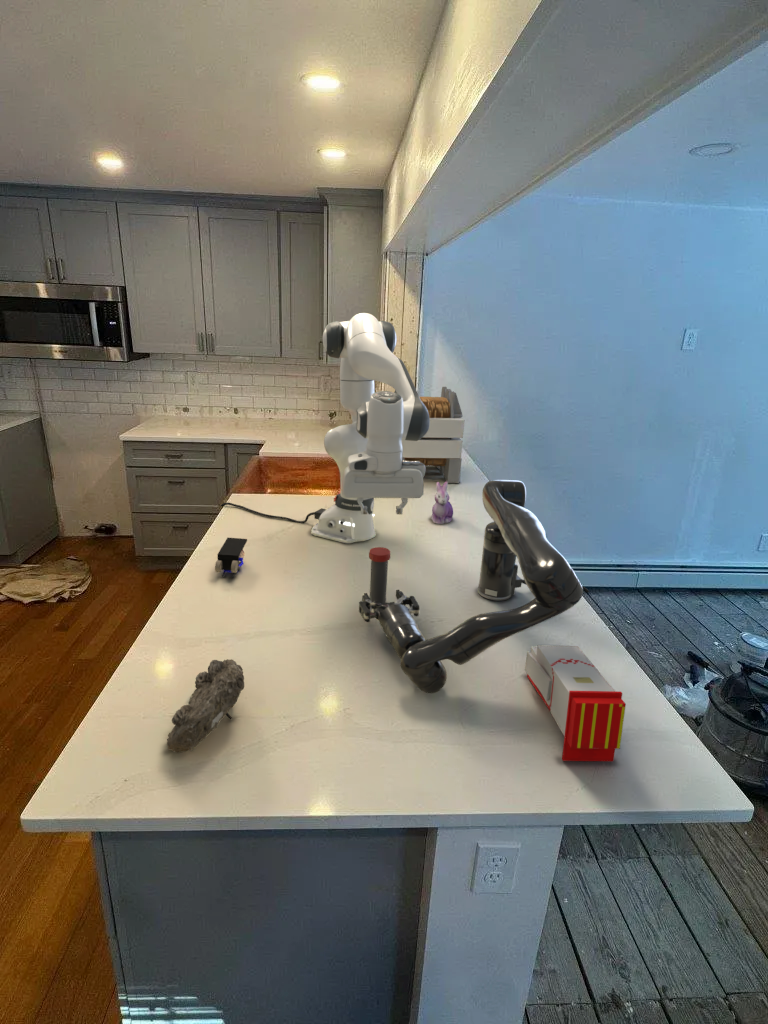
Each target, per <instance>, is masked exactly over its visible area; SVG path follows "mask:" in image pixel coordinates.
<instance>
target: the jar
mask: <svg viewBox="0 0 768 1024" xmlns="http://www.w3.org/2000/svg"><path fill="white" fill-rule="evenodd" d="M388 565H389V560H388V561H386V562H375V561H372V560H371V559H370V579H369V580H370V581H369V598H370V600H372V601H379V602H381V603H387V587H388V569H389V567H388ZM370 607H372V605H370ZM378 607H379V606H377V608H378Z"/></svg>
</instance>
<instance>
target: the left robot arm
mask: <svg viewBox="0 0 768 1024" xmlns="http://www.w3.org/2000/svg"><path fill="white" fill-rule="evenodd" d="M397 338H398V337H397V332H396V330H395V326H394V325H393V323H392V322H389V321H385V320H380V321H379V319H378V318H376V316H374V315H373V314H371V313H368V312H360V313H356V314H355V315H353V316H352V317H351V318H350V319H349V320H347V321H346V320H345V321H344V320H343V321H338V320H337V321H332V322H329V323H328V324H327V325H326V326H325V327H324V331H323V333H322V345H323V348H324V350H325V353H326V354H327V356H328V357H330V358H334V359H340V363H339V394H340V395H339V397H340V398H339V400H340V401H339V402H340V405H341V407H342V408H343V409H344V410H346V411H348V413H349V414H350V417H351V421H352V423H347V424H341V425H338V426H336V427H333V428H331V429H329V430H328V431H327V432H326V433H325V436H324V438H323V447H324V449H325V452H326V454H327V455H328V456H329V457H330V458H332V460H334V462H335V463H336V465H337V468H338V471H339V479H340V480H339V481H340V484H339V485H340V488H339V489H340V490H339V491H338V492H337V494H336V495H335V496H334V497H333V502H334V504H333V505H331V506H329V507H328V508H319V509H318V510H316V511H313V512H310V513H308V514H307V515H306V516H305V519H304V520H296V519H293V518H290V517H286V516H279V515H273V514H272V515H271V514H266V513H263V512H259V511H257V510H254V509H251V508H248V507H246V506H243V505H240V504H236V503H232V502H223V503H222V504H220V507H225V506H231V507H235V508H239V509H242V510H245V511H247V512H249V513H253V514H256V515H259V516H262V517H265V518H266V517H267V518H270V519H279V520H285V521H290V522H293V523H297V524H306V523H307V522H308V521H309V518H310V517H311V516H313V515H314V517H313V518H314V519H315V520H318V521H317V523H315V524H314V525H313V526H312V528H311V530H310V533H311V536H315V537H319V538H323V539H326V540H330V541H336V542H339V543H343V544H352V543H357V542H365V541H368V540H372V539H373V538H375V537H376V535H377V532H376V528H375V523H374V517H375V513H373V512H374V509H375V499H400V500H401V502H400V504H399V505H396V506H395V514H396V515H403V513H404V512H403V511H404V510H403V509H404V508H405V506H406V505H407V504H408V500H409V499H421V498H422V497H423V496H424V477H425V475H426V466H425V465H424V464H423V463H420V461H402V453H403V446H402V440H408V441H418V440H419V439H421V438H422V437H423V436H424V435H425V434H426V433H427V432H428V430H429V425H430V419H429V413H428V410H427V408H426V406H425V405H424V404H423V402H422V401H421V399H420V397H421V396H420V395H419V393H418V391H417V388H416V386H415V384H414V382H413V380H412V377H411V375H410V373H409V370H408V367H406V364H405V363H404V361H403V360H402V359H401V358H399V357H398V356H397V355H395V354H394V352H395V348H396V346H397V342H398V341H397ZM375 382H378V383H382V384H385V385H388V386H389V387H391V388H393V390H394V392H395V390H396V392H397V393H394V392H392V391H390V390H379V391H376V392H375ZM420 464H421V465H420Z"/></svg>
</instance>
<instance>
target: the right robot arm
mask: <svg viewBox="0 0 768 1024" xmlns="http://www.w3.org/2000/svg"><path fill="white" fill-rule="evenodd" d="M481 497H482V499H481V500H482V504H483V507H484V509H485V511H486V513H487V515H488V516H489V517H490V518H491V519H492V521H491V522H489V523H488V524H486V526H485V528H484V535H483V544H482V553H481V561H480V572H479V578H478V579H479V580H478V587H477V592H478V595H480V596H481V597H483V598H484V599H487V600H491V601H497V602H499V601H500V602H501V601H506V600H509V599H511V598H512V597H515V591H516V589H517V588H519V589H520V588H522V584H523V585H526V587H527V589H529V591H530V592H531V594H532V595H533V597H534V598H533V599H531V600H530V601H529V602H527V603H526V604H523V605H521V606H519V607H516V608H512V609H507V610H500V611H499V610H498V611H490V612H489V611H488V612H483V613H479V614H476V615H473V616H471V617H469V618H467V619H466V620H464V621H462V623H460V624H458V625H457V626H455V627H453V628H452V629H450V630H449V631H448V632H446V633H443V634H439V635H436V636H433V637H431V638H427V639H426V637H425V636H424V635H423V633H422V631H421V630H420V627H419V625H418V622H417V620H416V619H415V618H414V617H419V615H420V605H419V603H418V601H417V599H416V597H415V596H414V595H409V596H407V595H405V593H404V592H403V591H402V590H400V589H396V590H395V598H396V601H391V602H386V603H381V602H379V601H372V600H370V595H369V594H368V593H367V592H364V593H363V594H362V596H361V601H359V602H358V612H359V614H360V616H361V617H362V619H363V621H364V622H365V623H369V622H370V621H371V619H376V620H377V621H378V622H379V624H380V627H381V629H382V630H383V632H384V634H385V637H386V638H387V640H388V642H389V643H390V644H391V646H392V648H393V650H394V651H395V653H396V655H397V656H398V658H399V659H400V668H401V670H402V672H403V673H404V674H405V675H406V676H407V678H409V680H410V681H411V682H412V683H413V684H414V685H415V687H416V688H418V690H420V691H421V692H423V693H425V694H436V693H438V692H439V691H441V690H442V689H443V688H444V687H445V685H446V683H447V678H448V675H447V674H448V673H447V668H446V667H445V665H444V663H443V662H442V661H444V660H449V661H451V662H453V663H454V664H455V665H459V666H461V665H465V664H467V663H468V662H470V661H471V660H472V659H475V658H476V657H477V656H479V655H481V654H483V653H484V652H485V651H487V650H488V649H489V648H491V647H493V646H494V645H497V644H498V643H500V642H502V641H503V640H505V639H508V638H510V637H512V636H514V635H517V634H519V633H521V632H523V631H525V630H528V629H530V628H533V627H534V626H537V625H539V624H542V623H543V622H546V621H548V620H550V619H553V618H555V617H556V616H559V615H561V614H563V613H565V612H567V611H568V610H570V609H572V608H573V607H574V606H576V605H577V604H578V603H579V602H580V600H581V599H582V597H583V594H584V592H585V593H590V590H589V589H588V588H587V587H586V586H583V584H582V582H581V581H580V579H579V577H578V576H577V574H576V573H575V570H574V569H573V568H572V566H571V565H570V563H569V561H568V560H567V558H565V557H564V555H563V554H562V553H561V552H559V550H557V549H556V547H555V546H554V545H552V544H551V542H550V541H549V540H548V534H547V531H546V529H545V527H544V525H543V524H542V522H541V521H540V520H539V518H538V516H536V514H534V513H533V511H531V510H529V509H527V508H525V507H526V502H527V488H526V485H525V483H524V482H523V481H521V480H515V479H514V480H513V479H512V480H511V479H510V480H509V479H493V480H489V481H487V482H486V483H485V484H484V486H483V488H482V492H481ZM517 562H518V564H519V565H518V564H517ZM519 567H520V571H521V575H522V578H523V579H522V578H521V577H520V576H519V575H518V570H519ZM370 605H372V607H370ZM407 605H408V606H409V607H408V606H407ZM377 606H379V607H378V608H377Z"/></svg>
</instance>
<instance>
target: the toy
mask: <svg viewBox="0 0 768 1024" xmlns="http://www.w3.org/2000/svg"><path fill="white" fill-rule="evenodd" d="M524 671H525V672H526V674H527V675H526V677H527V678H528V680H529V682H530V683H531V685H532V686H533V687H534V689H535V690H536V692H537V694H538V695H539V697H540V698H541V699H542V701H543V703H544V705H545V706H546V707H547V709H548V711H550V714H551V716H552V717H553V719H554V722H555V723H556V725H557V726H558V728H559V730H560V731H561V733H562V735H563V747H562V754H561V760H562V761H563V762H614V760H615V759H614V758H615V751H616V750H617V749H618V750H620V749H621V743H622V735H623V727H624V720H625V713H626V702H625V701H624V699H623V692H622V691H620V690H619V691H618V690H617V691H616V690H615V689H614V687H612V685H611V684H610V683H609V682H608V680H607V679H606V678H605V677H604V675H602V673H601V672H600V671H599V670H598V668H597V667H596V666H595V665H594V664H593V663H592V661H591V660H590V659H589V657H587V655H586V654H585V653H584V652H583V650H582V649H581V648H580V647H579V646H578V645H541V644H540V645H536V646H534V645H533V646H530V650H529V651H526V656H525V664H524Z"/></svg>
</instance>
